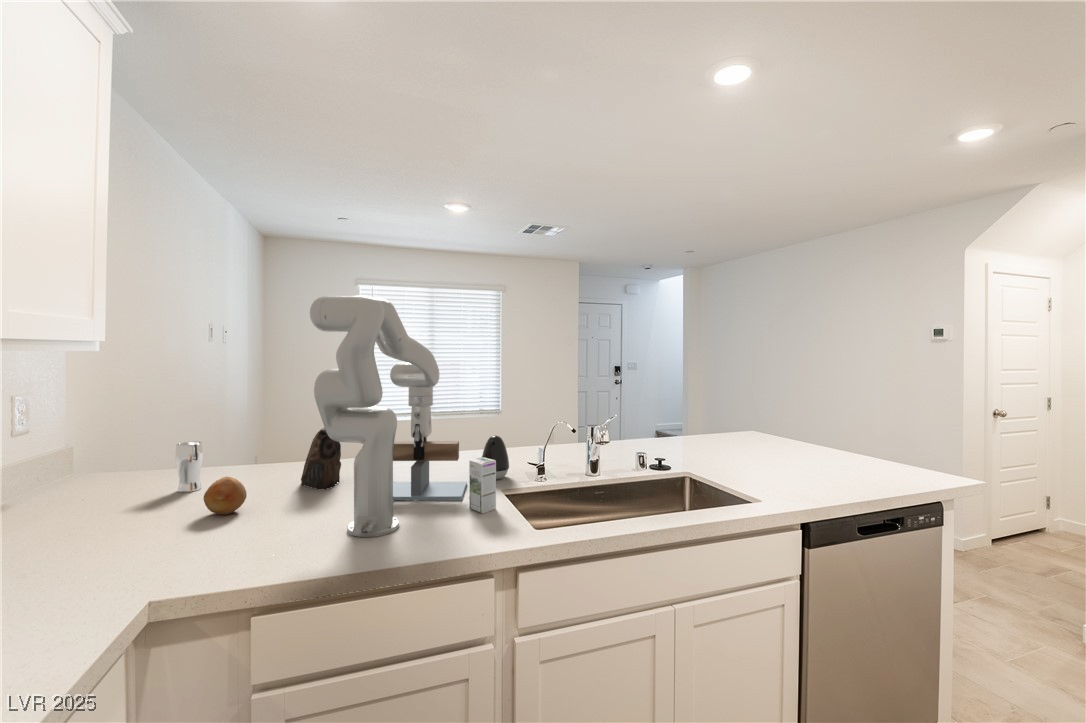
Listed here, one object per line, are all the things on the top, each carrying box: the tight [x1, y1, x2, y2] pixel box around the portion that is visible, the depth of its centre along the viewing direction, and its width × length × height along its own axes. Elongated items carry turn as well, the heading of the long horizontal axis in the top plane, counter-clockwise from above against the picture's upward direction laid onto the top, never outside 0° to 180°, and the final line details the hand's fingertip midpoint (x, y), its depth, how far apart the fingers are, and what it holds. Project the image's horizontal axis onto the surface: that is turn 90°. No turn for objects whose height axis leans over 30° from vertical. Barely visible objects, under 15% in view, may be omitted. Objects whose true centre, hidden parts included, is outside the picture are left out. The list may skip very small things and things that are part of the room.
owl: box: [300, 427, 342, 490], centre depth 161 cm, size 13×13×20 cm
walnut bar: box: [393, 440, 460, 462], centre depth 154 cm, size 4×24×6 cm, turn 93°
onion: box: [203, 476, 247, 516], centre depth 134 cm, size 10×10×10 cm
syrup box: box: [468, 456, 497, 514], centre depth 139 cm, size 6×6×14 cm
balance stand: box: [393, 461, 468, 501], centre depth 154 cm, size 16×28×10 cm, turn 93°
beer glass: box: [175, 440, 204, 493], centre depth 154 cm, size 7×7×15 cm
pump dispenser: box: [481, 435, 510, 480], centre depth 172 cm, size 10×10×15 cm
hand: (420, 457), depth 154 cm, fingers closed on walnut bar, 3 cm apart
